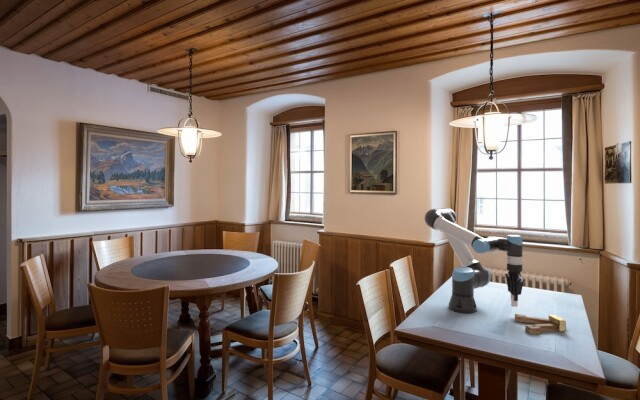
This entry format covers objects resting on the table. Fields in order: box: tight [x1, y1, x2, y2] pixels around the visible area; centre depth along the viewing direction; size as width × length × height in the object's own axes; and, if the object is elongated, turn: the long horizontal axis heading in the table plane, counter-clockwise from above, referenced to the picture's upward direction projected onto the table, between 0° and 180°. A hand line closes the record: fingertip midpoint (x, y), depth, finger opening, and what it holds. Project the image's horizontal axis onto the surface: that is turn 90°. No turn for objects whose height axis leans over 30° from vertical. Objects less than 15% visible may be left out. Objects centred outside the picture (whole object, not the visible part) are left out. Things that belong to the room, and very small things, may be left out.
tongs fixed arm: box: [524, 323, 559, 335], centre depth 174 cm, size 4×18×3 cm, turn 97°
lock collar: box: [548, 314, 567, 332], centre depth 177 cm, size 7×3×5 cm, turn 7°
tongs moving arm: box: [514, 313, 567, 330], centre depth 183 cm, size 6×22×3 cm, turn 67°
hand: (514, 306), depth 195 cm, fingers closed
